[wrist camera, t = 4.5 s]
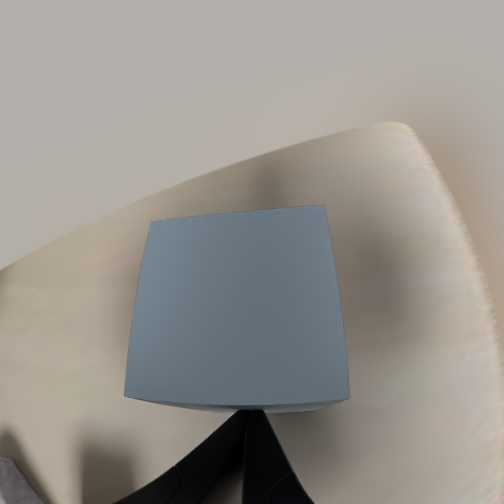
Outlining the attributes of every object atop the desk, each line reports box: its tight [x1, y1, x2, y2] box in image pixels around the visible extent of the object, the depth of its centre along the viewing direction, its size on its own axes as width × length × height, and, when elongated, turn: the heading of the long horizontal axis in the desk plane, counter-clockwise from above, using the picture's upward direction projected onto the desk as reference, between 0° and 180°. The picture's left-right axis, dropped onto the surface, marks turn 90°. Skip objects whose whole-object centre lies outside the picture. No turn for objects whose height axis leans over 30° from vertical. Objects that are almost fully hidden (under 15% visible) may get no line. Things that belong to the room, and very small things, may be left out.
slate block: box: [124, 205, 350, 413], centre depth 12 cm, size 5×5×11 cm
